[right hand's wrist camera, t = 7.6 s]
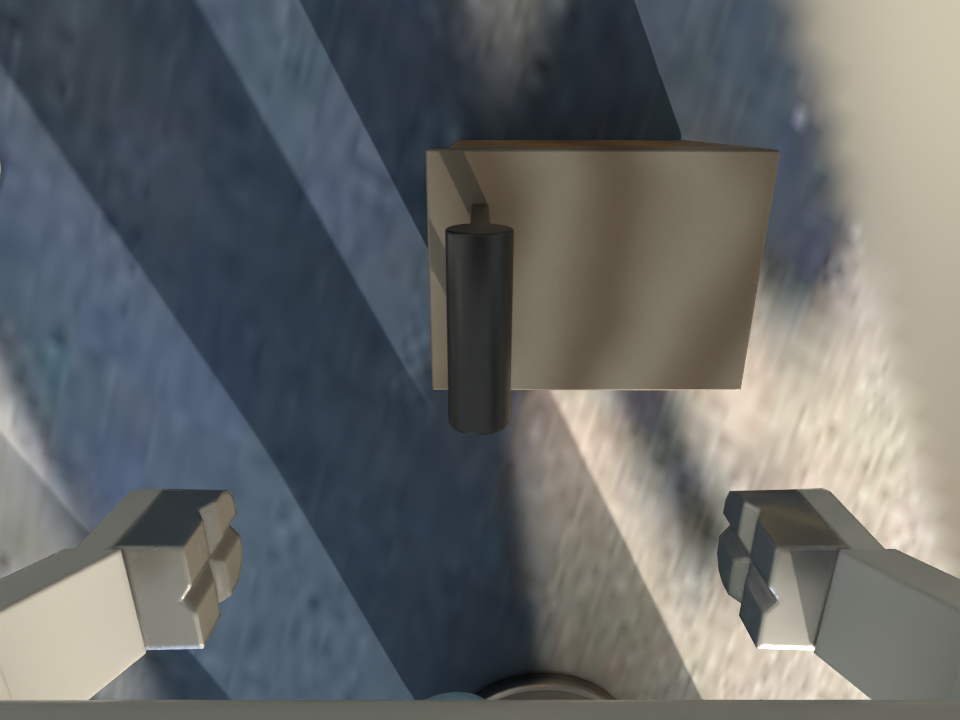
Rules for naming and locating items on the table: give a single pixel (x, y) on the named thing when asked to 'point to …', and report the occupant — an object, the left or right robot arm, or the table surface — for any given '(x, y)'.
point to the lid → (591, 270)
